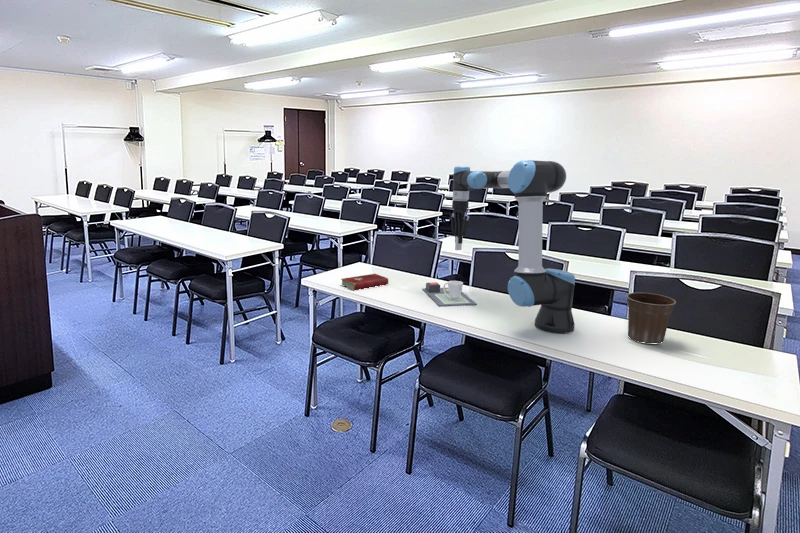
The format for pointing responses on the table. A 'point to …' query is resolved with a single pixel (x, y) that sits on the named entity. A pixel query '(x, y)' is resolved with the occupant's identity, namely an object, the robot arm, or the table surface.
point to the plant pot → (648, 316)
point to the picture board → (443, 300)
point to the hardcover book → (364, 281)
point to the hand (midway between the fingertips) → (458, 249)
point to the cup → (454, 289)
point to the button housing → (432, 288)
